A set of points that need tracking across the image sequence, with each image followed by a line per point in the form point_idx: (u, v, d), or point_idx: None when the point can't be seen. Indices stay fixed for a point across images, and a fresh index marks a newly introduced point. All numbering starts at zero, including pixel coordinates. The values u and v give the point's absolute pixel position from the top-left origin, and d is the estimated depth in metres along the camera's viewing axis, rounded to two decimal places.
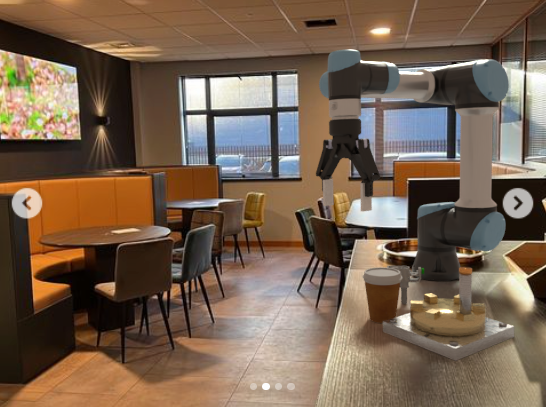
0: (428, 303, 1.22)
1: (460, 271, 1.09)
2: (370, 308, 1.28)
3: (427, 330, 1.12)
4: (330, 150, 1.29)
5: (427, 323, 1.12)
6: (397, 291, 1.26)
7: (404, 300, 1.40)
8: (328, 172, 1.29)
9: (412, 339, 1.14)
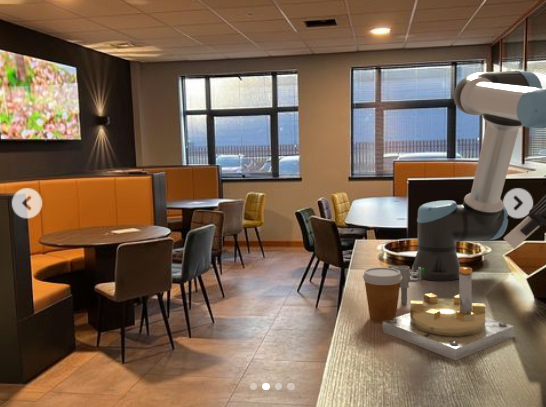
0: (428, 303, 1.22)
1: (460, 271, 1.09)
2: (370, 308, 1.28)
3: (427, 330, 1.12)
4: None
5: (427, 323, 1.12)
6: (397, 291, 1.26)
7: (404, 300, 1.40)
8: None
9: (412, 339, 1.14)
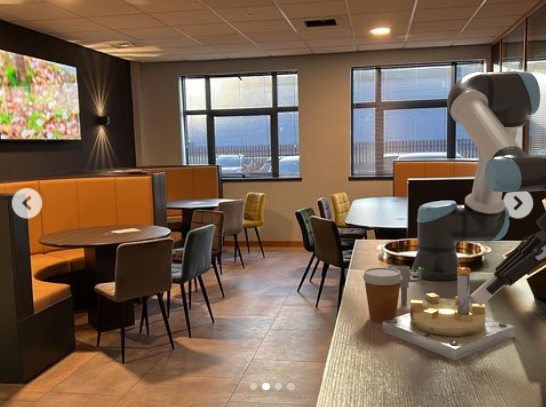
0: (429, 302, 1.22)
1: (458, 271, 1.09)
2: (370, 308, 1.28)
3: (425, 329, 1.13)
4: None
5: (425, 322, 1.13)
6: (397, 291, 1.26)
7: (404, 300, 1.40)
8: None
9: (412, 339, 1.14)
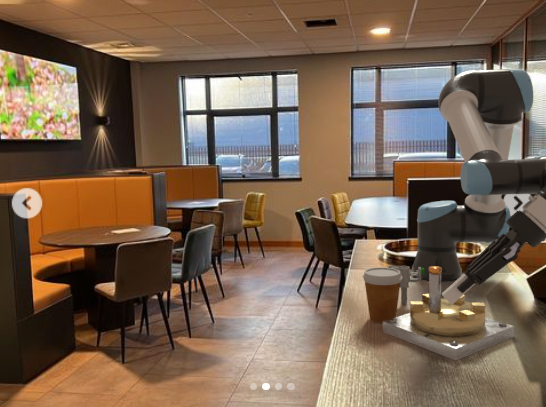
0: None
1: None
2: (370, 308, 1.28)
3: (410, 319, 1.20)
4: None
5: (410, 312, 1.20)
6: (397, 291, 1.26)
7: (404, 300, 1.40)
8: None
9: (412, 339, 1.14)
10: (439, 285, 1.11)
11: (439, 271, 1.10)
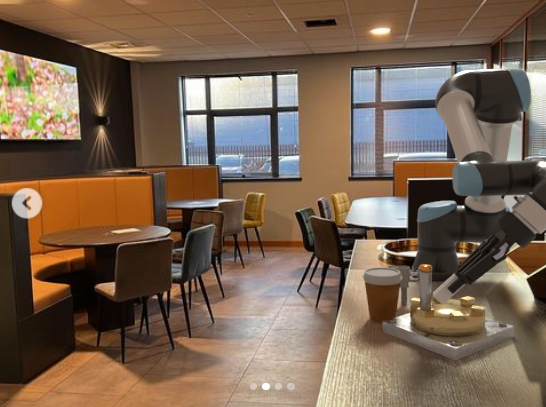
0: (459, 303, 1.21)
1: None
2: (370, 308, 1.28)
3: None
4: None
5: None
6: (397, 291, 1.26)
7: (404, 300, 1.40)
8: None
9: (412, 339, 1.14)
10: (428, 283, 1.12)
11: (427, 269, 1.12)
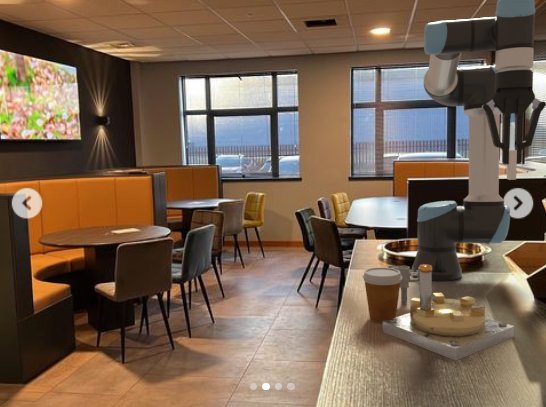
0: (459, 303, 1.21)
1: None
2: (370, 308, 1.28)
3: None
4: (533, 111, 1.13)
5: None
6: (397, 291, 1.26)
7: (404, 300, 1.40)
8: (515, 137, 1.15)
9: (412, 339, 1.14)
10: (428, 283, 1.12)
11: (427, 269, 1.12)
